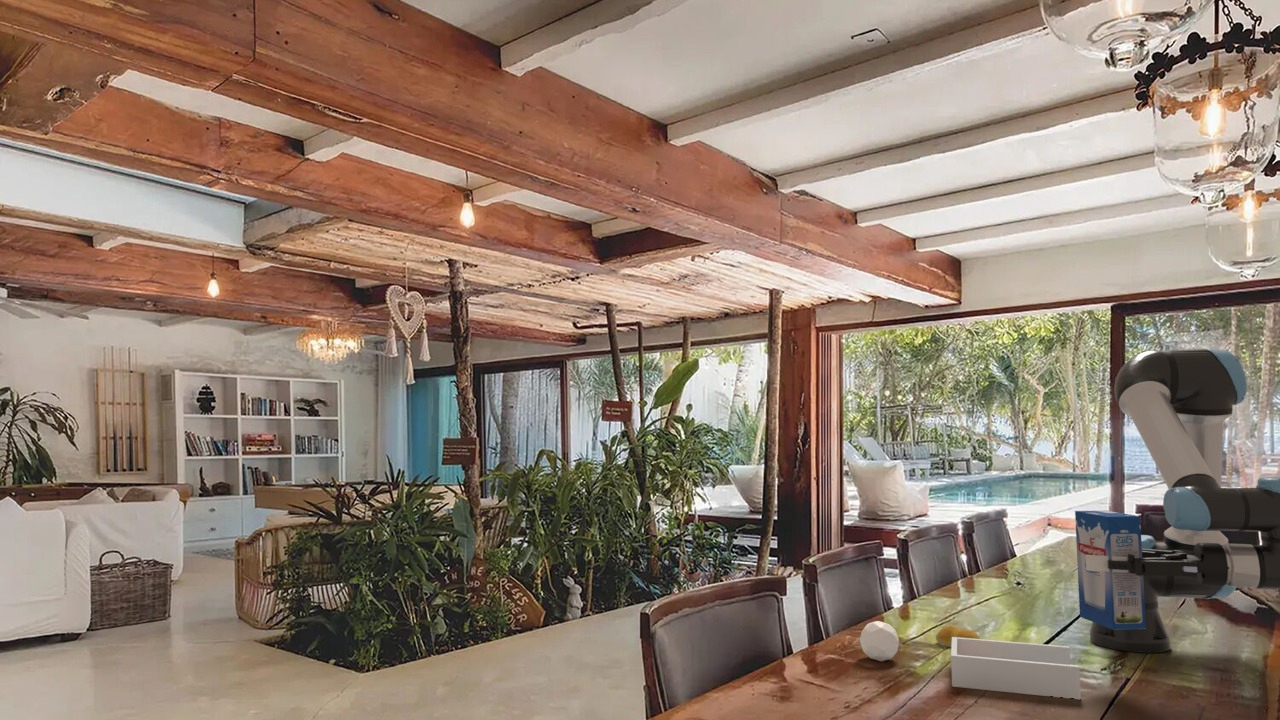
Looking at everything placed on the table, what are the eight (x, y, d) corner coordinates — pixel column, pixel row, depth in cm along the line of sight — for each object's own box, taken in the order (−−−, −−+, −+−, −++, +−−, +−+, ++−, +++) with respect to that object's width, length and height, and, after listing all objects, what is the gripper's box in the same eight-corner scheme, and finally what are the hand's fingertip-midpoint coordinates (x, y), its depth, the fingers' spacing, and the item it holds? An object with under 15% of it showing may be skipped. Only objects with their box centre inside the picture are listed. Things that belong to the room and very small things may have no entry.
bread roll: (969, 653, 174) (969, 633, 175) (931, 645, 181) (930, 626, 182) (988, 646, 180) (988, 627, 180) (950, 638, 186) (949, 620, 187)
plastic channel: (1070, 676, 157) (1068, 646, 157) (1080, 699, 143) (1079, 667, 144) (952, 664, 165) (951, 636, 165) (952, 686, 151) (950, 655, 151)
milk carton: (1079, 616, 157) (1074, 510, 158) (1110, 615, 157) (1105, 510, 159) (1113, 629, 147) (1107, 516, 148) (1146, 629, 147) (1140, 516, 149)
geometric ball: (886, 676, 166) (890, 650, 162) (851, 655, 171) (853, 630, 167) (904, 651, 171) (908, 625, 167) (869, 632, 176) (872, 606, 172)
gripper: (1245, 599, 136) (1092, 589, 144) (1207, 575, 156) (1075, 568, 164) (1242, 553, 136) (1090, 546, 144) (1205, 535, 157) (1074, 530, 165)
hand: (1082, 558), depth 154 cm, fingers closed on milk carton, 10 cm apart
